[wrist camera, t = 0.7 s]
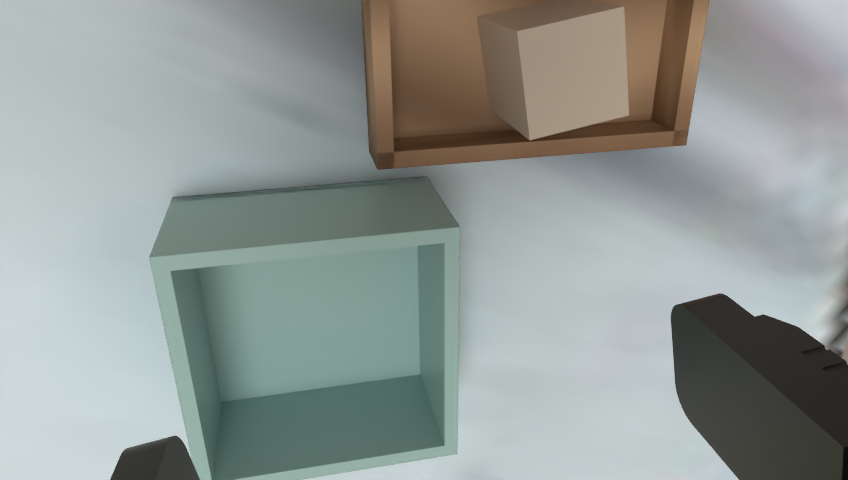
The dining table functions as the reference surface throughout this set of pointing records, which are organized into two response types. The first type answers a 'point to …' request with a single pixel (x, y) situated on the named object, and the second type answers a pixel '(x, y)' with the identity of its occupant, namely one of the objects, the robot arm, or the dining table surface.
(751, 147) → the dining table surface
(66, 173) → the dining table surface
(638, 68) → the walnut tray
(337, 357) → the teal bin
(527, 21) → the beige matte cube
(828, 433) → the robot arm
